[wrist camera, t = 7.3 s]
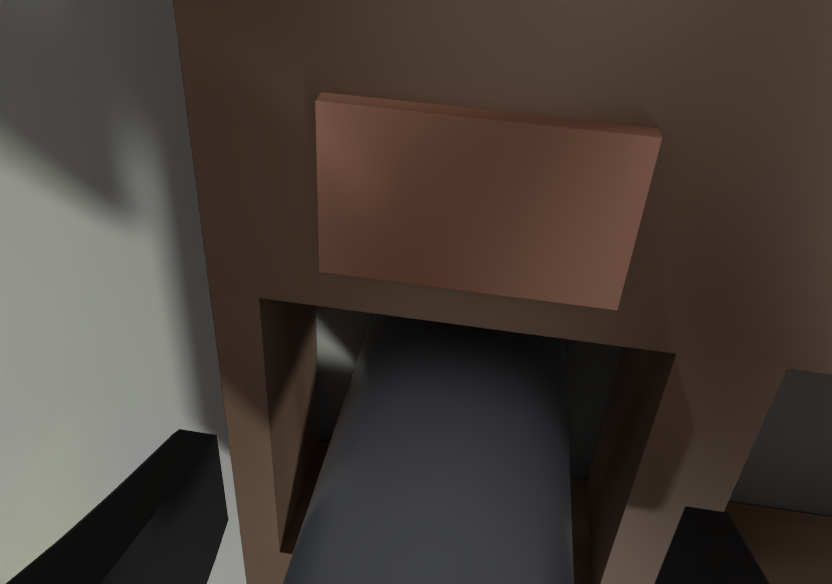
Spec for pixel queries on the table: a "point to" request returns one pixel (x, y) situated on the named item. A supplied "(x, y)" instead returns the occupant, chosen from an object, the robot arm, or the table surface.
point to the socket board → (525, 230)
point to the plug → (445, 463)
